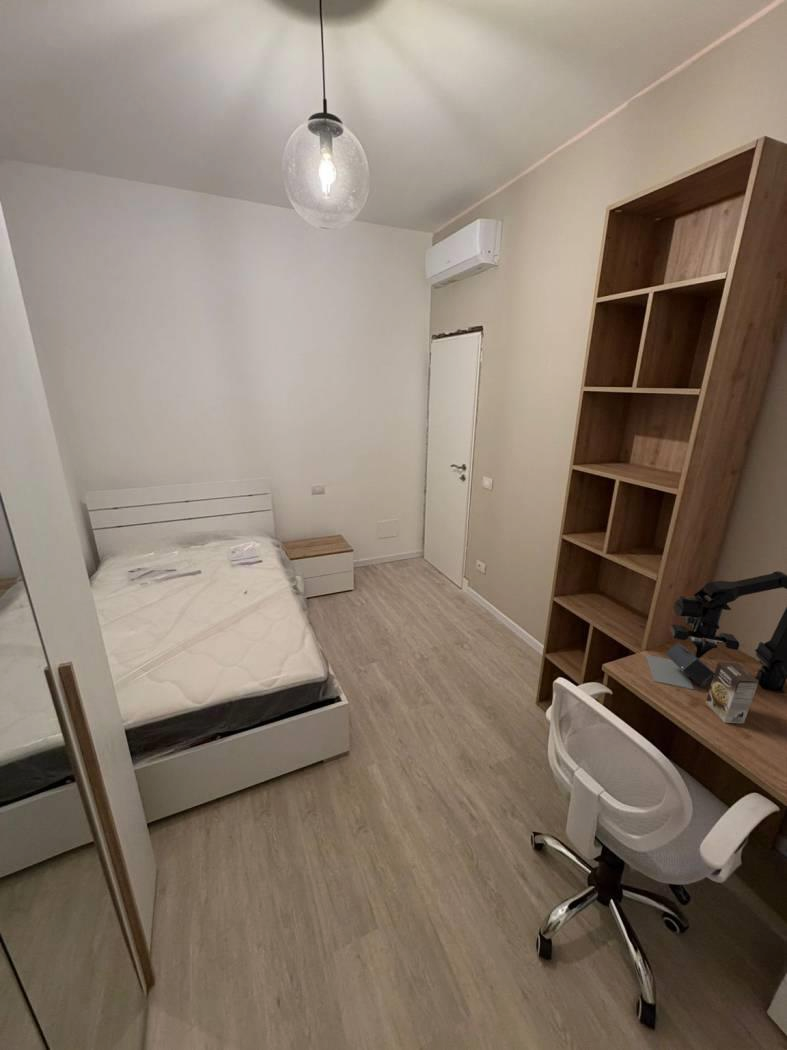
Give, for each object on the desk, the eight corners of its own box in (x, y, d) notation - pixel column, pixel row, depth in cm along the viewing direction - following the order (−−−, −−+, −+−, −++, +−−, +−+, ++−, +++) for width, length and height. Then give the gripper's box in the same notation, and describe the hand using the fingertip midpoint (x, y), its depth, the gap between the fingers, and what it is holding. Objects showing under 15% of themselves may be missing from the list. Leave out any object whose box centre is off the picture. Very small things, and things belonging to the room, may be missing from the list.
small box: (718, 675, 143) (696, 658, 142) (703, 687, 145) (681, 671, 143) (698, 657, 153) (677, 641, 152) (685, 669, 155) (664, 653, 153)
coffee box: (704, 702, 139) (716, 661, 133) (724, 702, 138) (737, 661, 133) (724, 723, 130) (738, 680, 125) (745, 723, 130) (760, 680, 125)
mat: (681, 662, 158) (681, 661, 158) (693, 690, 144) (694, 689, 144) (645, 655, 162) (645, 654, 162) (654, 681, 148) (654, 680, 148)
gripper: (732, 612, 147) (720, 650, 152) (671, 602, 153) (661, 639, 158) (745, 628, 137) (732, 668, 142) (679, 617, 143) (669, 656, 148)
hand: (697, 657), depth 147 cm, fingers closed
